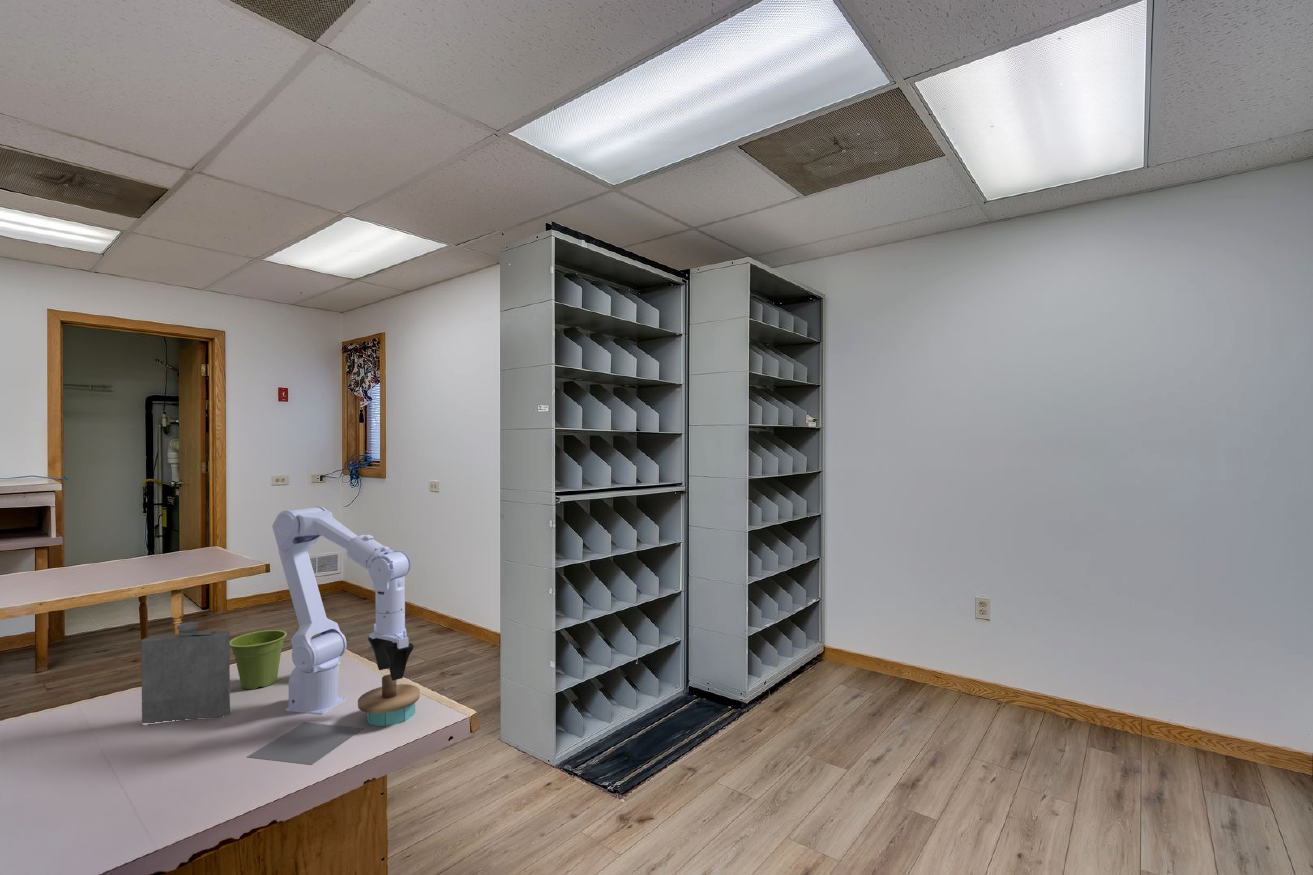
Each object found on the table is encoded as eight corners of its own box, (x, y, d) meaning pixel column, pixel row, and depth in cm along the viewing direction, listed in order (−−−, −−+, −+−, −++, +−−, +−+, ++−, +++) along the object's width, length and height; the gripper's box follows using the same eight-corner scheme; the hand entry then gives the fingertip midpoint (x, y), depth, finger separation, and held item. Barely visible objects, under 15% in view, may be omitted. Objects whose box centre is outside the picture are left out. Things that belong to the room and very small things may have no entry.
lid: (344, 710, 124) (344, 686, 124) (382, 686, 136) (381, 664, 136) (397, 715, 122) (397, 690, 122) (431, 690, 134) (430, 667, 134)
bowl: (357, 726, 126) (357, 707, 126) (385, 707, 135) (385, 689, 135) (396, 730, 124) (396, 710, 124) (422, 710, 133) (422, 692, 133)
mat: (246, 758, 113) (246, 756, 113) (304, 724, 127) (304, 722, 127) (311, 766, 110) (311, 764, 110) (363, 730, 124) (363, 728, 124)
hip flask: (138, 726, 126) (137, 629, 126) (149, 717, 130) (149, 624, 130) (226, 717, 130) (225, 623, 130) (234, 709, 134) (233, 618, 134)
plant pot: (241, 677, 152) (240, 631, 152) (294, 672, 155) (293, 628, 155) (219, 696, 141) (219, 647, 141) (277, 691, 143) (276, 643, 143)
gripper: (358, 606, 132) (359, 669, 132) (383, 621, 121) (383, 689, 121) (392, 600, 137) (392, 660, 137) (418, 613, 126) (418, 679, 126)
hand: (390, 673), depth 129 cm, fingers open, 7 cm apart
